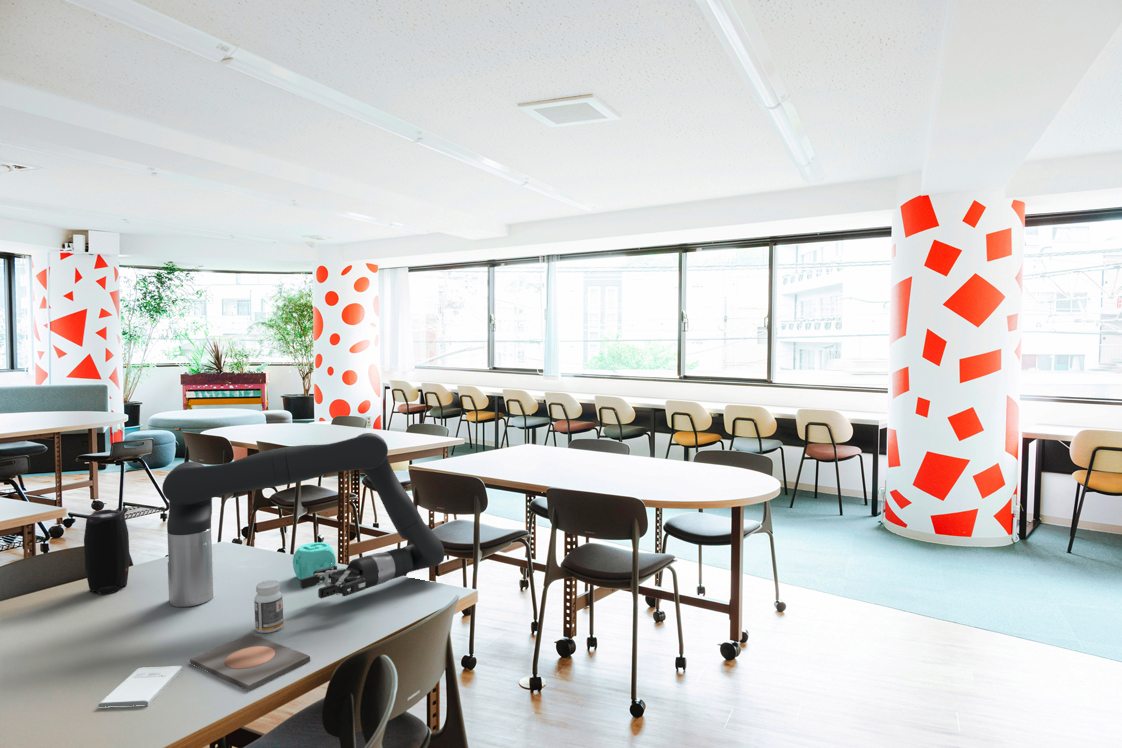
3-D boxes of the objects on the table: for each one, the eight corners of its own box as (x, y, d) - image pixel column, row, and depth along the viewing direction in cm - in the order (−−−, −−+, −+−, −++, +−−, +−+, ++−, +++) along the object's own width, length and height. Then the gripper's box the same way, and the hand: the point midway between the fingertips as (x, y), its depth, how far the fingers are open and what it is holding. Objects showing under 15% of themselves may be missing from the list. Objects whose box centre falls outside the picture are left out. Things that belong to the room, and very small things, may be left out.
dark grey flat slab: (189, 663, 130) (189, 658, 130) (251, 638, 141) (251, 633, 141) (249, 690, 120) (249, 684, 120) (310, 660, 131) (310, 655, 131)
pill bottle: (288, 623, 149) (287, 579, 148) (274, 634, 143) (273, 589, 142) (264, 622, 149) (262, 578, 149) (249, 633, 143) (248, 588, 143)
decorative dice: (292, 577, 177) (292, 547, 177) (320, 569, 183) (320, 540, 183) (308, 584, 172) (307, 553, 171) (336, 575, 178) (335, 546, 178)
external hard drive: (98, 712, 115) (137, 675, 127) (148, 709, 115) (182, 673, 128) (97, 702, 115) (137, 666, 127) (148, 700, 115) (182, 664, 128)
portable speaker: (138, 584, 172) (135, 509, 171) (104, 598, 163) (100, 519, 162) (112, 580, 175) (109, 506, 173) (77, 594, 166) (74, 516, 164)
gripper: (355, 549, 169) (294, 565, 157) (388, 562, 160) (325, 580, 148) (356, 578, 170) (294, 597, 158) (388, 592, 160) (326, 613, 148)
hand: (309, 589), depth 153 cm, fingers open, 8 cm apart
